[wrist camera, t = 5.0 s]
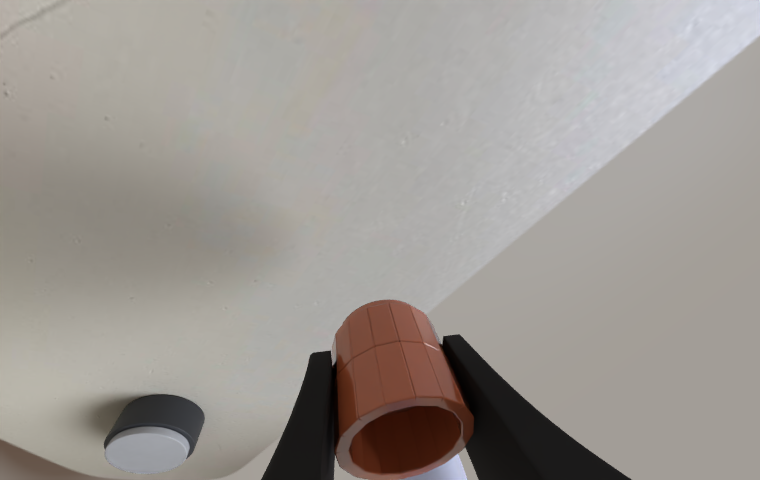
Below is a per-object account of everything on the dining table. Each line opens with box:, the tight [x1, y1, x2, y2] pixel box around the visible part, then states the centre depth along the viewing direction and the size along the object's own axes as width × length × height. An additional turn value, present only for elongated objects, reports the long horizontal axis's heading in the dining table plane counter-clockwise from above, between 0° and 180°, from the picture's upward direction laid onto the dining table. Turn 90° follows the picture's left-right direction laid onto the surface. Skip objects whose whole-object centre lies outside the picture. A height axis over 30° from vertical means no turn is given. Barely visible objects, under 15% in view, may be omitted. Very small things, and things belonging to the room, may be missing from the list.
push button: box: [104, 395, 205, 474], centre depth 21 cm, size 5×5×2 cm
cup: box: [332, 300, 474, 480], centre depth 10 cm, size 4×4×4 cm
